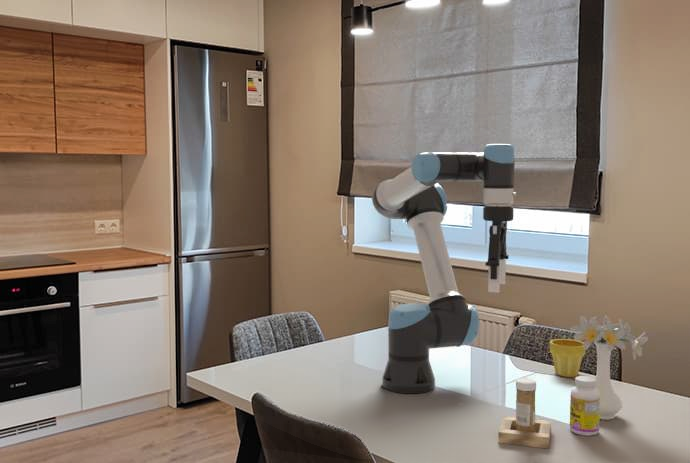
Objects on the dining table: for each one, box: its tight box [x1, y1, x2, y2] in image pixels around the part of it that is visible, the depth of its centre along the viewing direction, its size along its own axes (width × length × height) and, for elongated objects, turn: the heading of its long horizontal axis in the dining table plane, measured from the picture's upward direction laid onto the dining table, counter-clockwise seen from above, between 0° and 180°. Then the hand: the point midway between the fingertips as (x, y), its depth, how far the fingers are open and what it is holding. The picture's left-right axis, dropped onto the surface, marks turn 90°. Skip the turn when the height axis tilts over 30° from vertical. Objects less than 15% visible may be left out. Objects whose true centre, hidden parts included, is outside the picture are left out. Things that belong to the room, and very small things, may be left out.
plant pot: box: [549, 338, 586, 378], centre depth 215 cm, size 10×10×10 cm
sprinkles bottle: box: [515, 377, 537, 432], centre depth 164 cm, size 5×5×14 cm
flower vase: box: [569, 315, 649, 421], centre depth 178 cm, size 13×18×25 cm
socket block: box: [498, 415, 552, 449], centre depth 164 cm, size 11×11×2 cm
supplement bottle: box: [569, 375, 600, 437], centre depth 167 cm, size 7×7×13 cm
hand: (497, 288), depth 182 cm, fingers open, 13 cm apart
